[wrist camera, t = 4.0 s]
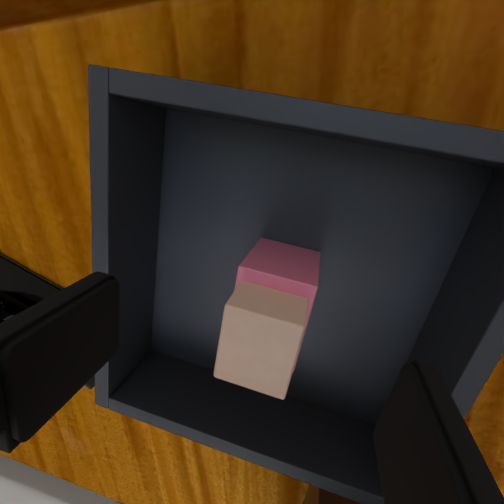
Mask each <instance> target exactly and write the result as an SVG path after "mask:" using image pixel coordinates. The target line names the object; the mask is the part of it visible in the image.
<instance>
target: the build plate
mask: <svg viewBox="0 0 504 504" xmlns="http://www.w3.org/2000/svg"><path fill="white" fill-rule="evenodd" d="M61 290H63V288H61V287H60V286H58V285H56V284H54V283H52V282H51V281H49V280H47V279H45V278H43V277H42V276H40V275H38V274H36V273H34V272H33V271H31V270H29V269H27V268H26V267H24V266H22V265H20V264H18V263H17V262H15V261H13V260H11V259H9V258H8V257H6V256H4V255H2V254H1V253H0V323H2V322H4V321H5V320H7V319H9V318H11V317H13V316H15V315H17V314H18V313H20V312H22V311H24V310H26V309H28V308H29V307H31V306H33V305H35V304H37V303H39V302H40V301H42V300H44V299H46V298H48V297H50V296H52V295H53V294H55V293H57V292H59V291H61ZM84 386H86V387H87V388H89V389H92V388H93V387H94V386H95V375H94V376H93V377H92V378H91V379H90V380H89V381H88V382H87V383H86V384H85V385H84Z"/></svg>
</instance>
